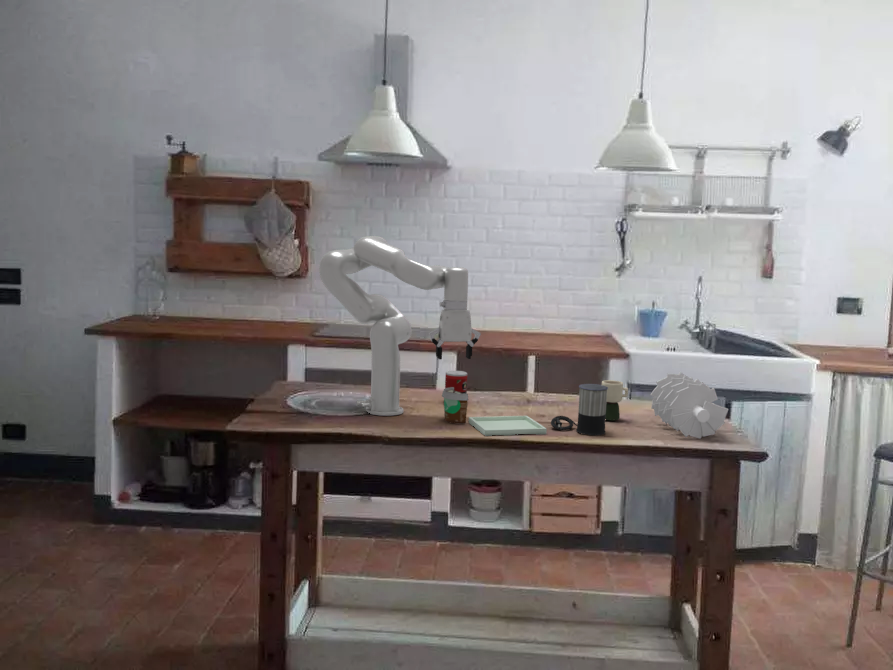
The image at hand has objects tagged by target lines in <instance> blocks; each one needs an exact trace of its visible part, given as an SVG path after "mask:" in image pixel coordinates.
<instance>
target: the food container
mask: <svg viewBox="0 0 893 670" xmlns="http://www.w3.org/2000/svg"><path fill="white" fill-rule="evenodd" d="M441 397H442V399H443V407H444V408H443V409H444V410H443V411H444V414H443V415H444V421H445V422H446V421H447V422H446V423H449V422H451V424H455V423H467V413H468V411H467V410H468V401H469V393H467V394H462V393H461V392H457V391H455V390H454V387H450V388H445V387H444V389H443V391H442V394H441Z"/></svg>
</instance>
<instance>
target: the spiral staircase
mask: <svg viewBox="0 0 893 670" xmlns="http://www.w3.org/2000/svg"><path fill="white" fill-rule="evenodd" d="M656 385H657V386H656V387H655V388H654V389H653V390H652V392H651V393H650V396H651V397H652V400H651V402H652V403H651V410H653V411H654V412H653V413H654V416H656V417H657V416H658V417H660V419H661V421H662V423H664V424H669V426H670V427H671V428H672V429H673V430H675V431H676V432H678V431H680V432H681V433H682V435H683V436H684V437H685V438H687V437H688V436H690V437H693V438H696V439H701V438H702V437H707V436H713V435H716V432H717V431H718V430H719V428H721V427H722V426H723V425H724V424H726V422H725V420H726V417H727V414H728V411H729V408H727V407H724V406H721V405H718V404H716V403H713V402H715V401H718V400H719V398H718V396H717V392H716V389H715V387H712V388H710V387H709V385H707V384H706V383H704V382H701V381H700V380H699V379H698V378H696V379H693V377H692V376H690V377H689V376H687V375H686V374H684V373H683V372H682V371H679V373H676V374H675V373H666V376H665V377H663V378H661V379H659V380H657V381H656Z"/></svg>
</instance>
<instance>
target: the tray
mask: <svg viewBox="0 0 893 670" xmlns="http://www.w3.org/2000/svg"><path fill="white" fill-rule="evenodd" d="M468 422H469V423H468V424H470V425H471V426H472V427H473V426H474V427H475V428H474V427H473V428H474V429H476V430H477V431H478V432H479V431H480V432H479V433H481V434H482V435H483V436H484V435H485V436H484V437H493V436H492V435H504V436H519V435H518V434H536V435H547V427H545V426H544V425H543V424H541V423H539V422H538V421H536V420H535V419H533V418H531V417H530V416H528V415H507V416H506V415H499V416H498V415H494V416H468ZM515 434H517V435H515Z"/></svg>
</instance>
